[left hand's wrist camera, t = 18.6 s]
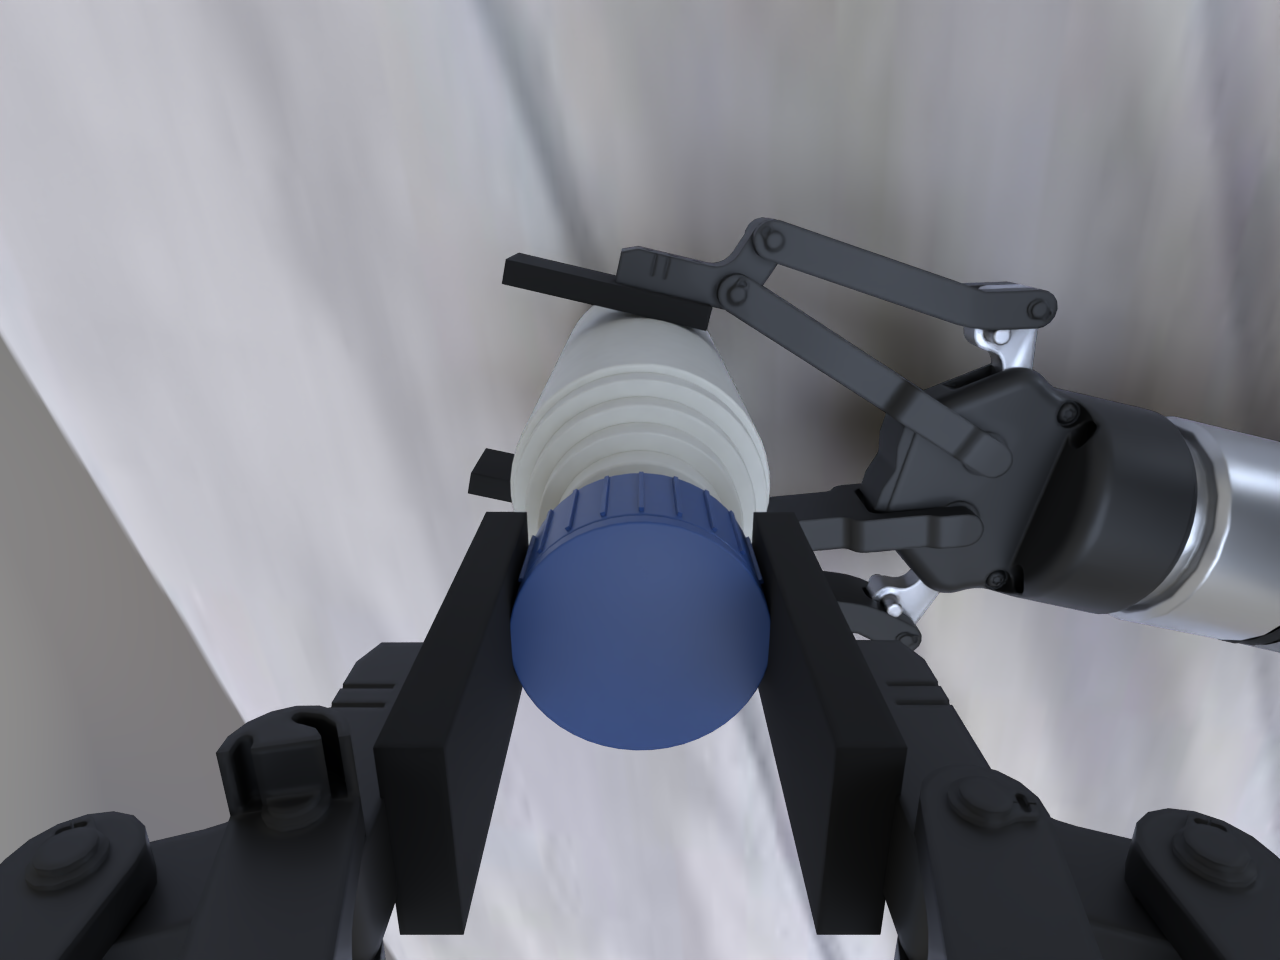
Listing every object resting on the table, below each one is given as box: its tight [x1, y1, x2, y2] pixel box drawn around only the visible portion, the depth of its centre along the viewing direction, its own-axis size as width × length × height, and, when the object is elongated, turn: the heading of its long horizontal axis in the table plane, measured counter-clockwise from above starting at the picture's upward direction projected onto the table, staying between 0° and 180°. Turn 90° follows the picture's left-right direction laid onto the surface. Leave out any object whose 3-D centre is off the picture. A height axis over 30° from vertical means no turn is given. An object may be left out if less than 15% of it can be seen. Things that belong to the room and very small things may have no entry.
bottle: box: [510, 305, 770, 543], centre depth 23 cm, size 6×6×21 cm
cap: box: [510, 472, 770, 750], centre depth 14 cm, size 4×4×2 cm
